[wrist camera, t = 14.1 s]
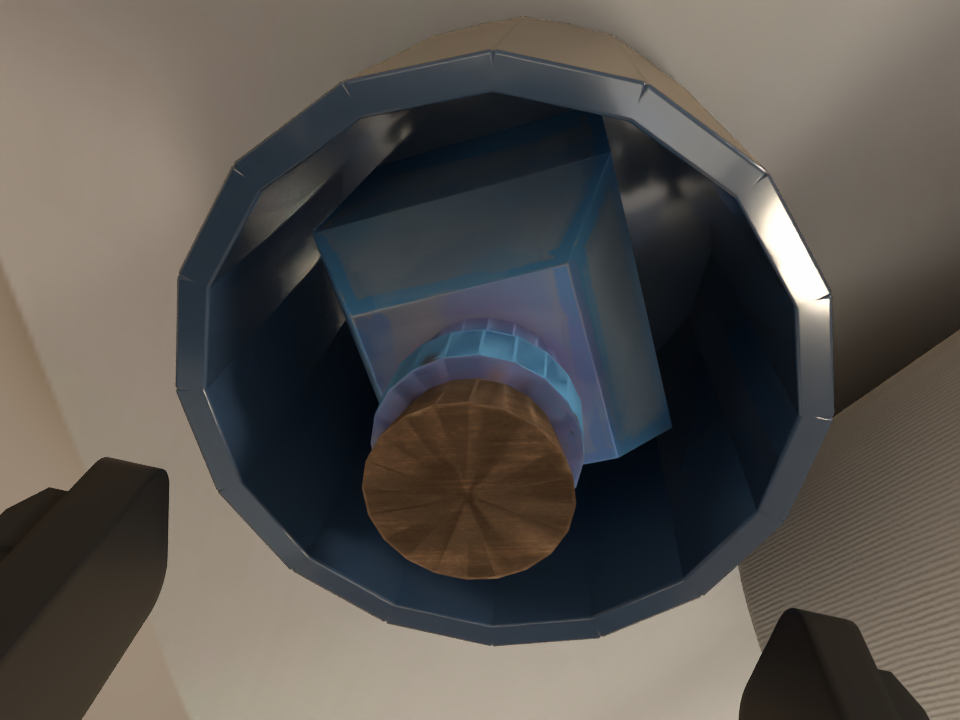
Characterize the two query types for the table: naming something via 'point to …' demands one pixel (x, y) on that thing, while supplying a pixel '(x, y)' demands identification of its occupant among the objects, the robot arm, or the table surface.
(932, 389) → the light fixture
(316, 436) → the holder
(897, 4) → the table surface
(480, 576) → the perfume bottle
